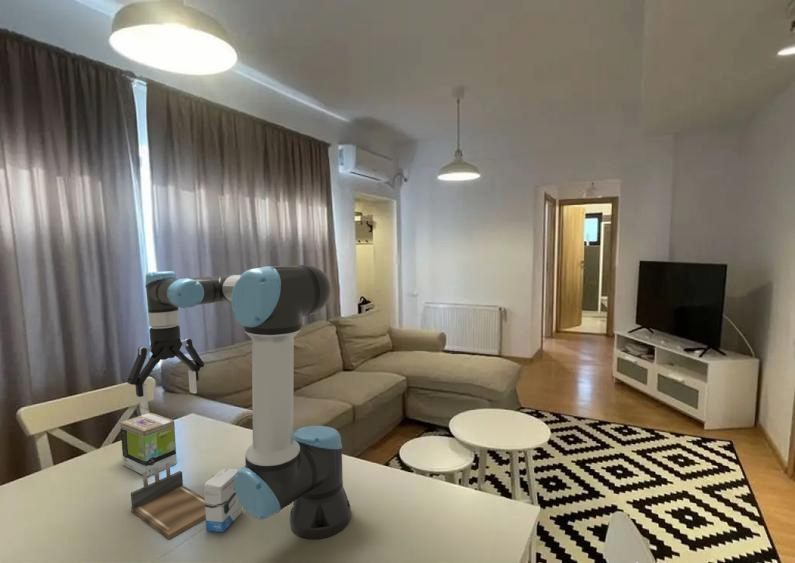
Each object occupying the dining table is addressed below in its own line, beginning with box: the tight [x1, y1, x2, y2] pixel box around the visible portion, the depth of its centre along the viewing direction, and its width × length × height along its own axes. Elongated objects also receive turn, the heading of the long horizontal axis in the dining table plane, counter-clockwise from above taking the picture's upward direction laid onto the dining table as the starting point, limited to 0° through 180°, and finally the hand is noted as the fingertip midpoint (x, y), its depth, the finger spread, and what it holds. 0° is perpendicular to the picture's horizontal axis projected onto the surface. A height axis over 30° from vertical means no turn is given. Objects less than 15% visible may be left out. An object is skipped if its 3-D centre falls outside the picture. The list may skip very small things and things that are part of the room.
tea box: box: [120, 412, 178, 478], centre depth 135 cm, size 15×10×15 cm, turn 58°
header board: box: [130, 462, 206, 540], centre depth 110 cm, size 20×13×9 cm, turn 55°
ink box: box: [203, 467, 243, 533], centre depth 105 cm, size 8×5×12 cm, turn 168°
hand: (170, 399), depth 119 cm, fingers open, 13 cm apart
